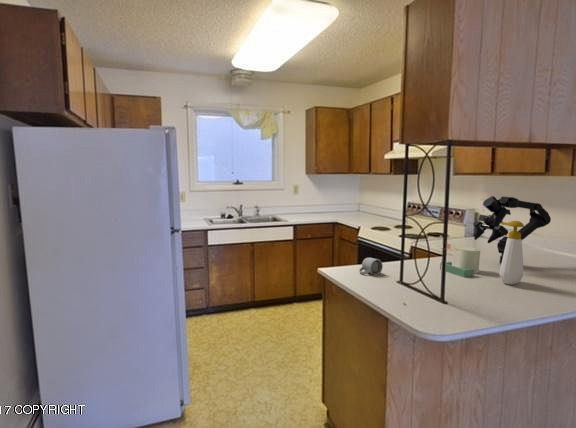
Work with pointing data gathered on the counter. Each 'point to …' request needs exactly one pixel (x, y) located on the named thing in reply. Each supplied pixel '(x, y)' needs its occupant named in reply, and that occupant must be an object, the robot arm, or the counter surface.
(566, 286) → the counter surface
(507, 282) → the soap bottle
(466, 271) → the green piece
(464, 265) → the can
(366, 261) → the ceramic mug
